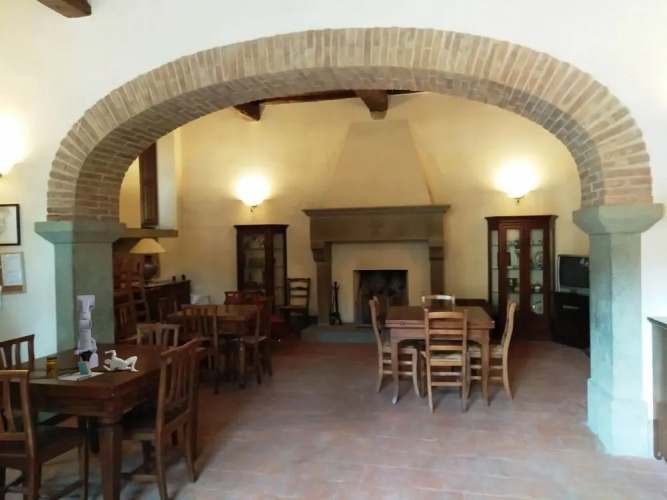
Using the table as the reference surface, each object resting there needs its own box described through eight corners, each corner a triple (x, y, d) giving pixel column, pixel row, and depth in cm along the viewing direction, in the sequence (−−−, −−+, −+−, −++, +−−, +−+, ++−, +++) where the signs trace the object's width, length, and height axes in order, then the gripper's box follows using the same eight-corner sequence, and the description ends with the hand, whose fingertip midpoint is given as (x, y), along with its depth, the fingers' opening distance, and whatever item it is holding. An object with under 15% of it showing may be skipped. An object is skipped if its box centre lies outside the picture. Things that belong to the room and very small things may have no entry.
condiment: (43, 380, 287) (42, 358, 287) (49, 377, 295) (48, 355, 295) (57, 379, 288) (57, 357, 288) (63, 376, 296) (62, 354, 296)
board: (82, 372, 303) (82, 369, 303) (104, 374, 298) (104, 371, 298) (56, 380, 286) (55, 377, 286) (78, 382, 281) (78, 378, 281)
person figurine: (138, 349, 312) (105, 348, 303) (141, 358, 301) (107, 356, 292) (133, 370, 313) (101, 369, 304) (136, 379, 302) (103, 378, 293)
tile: (83, 372, 299) (80, 361, 297) (91, 372, 297) (88, 361, 295) (80, 373, 297) (77, 362, 295) (88, 374, 295) (85, 363, 293)
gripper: (80, 343, 289) (81, 368, 289) (100, 338, 303) (101, 362, 303) (71, 342, 291) (71, 367, 291) (91, 338, 305) (91, 361, 305)
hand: (86, 364), depth 297 cm, fingers closed
